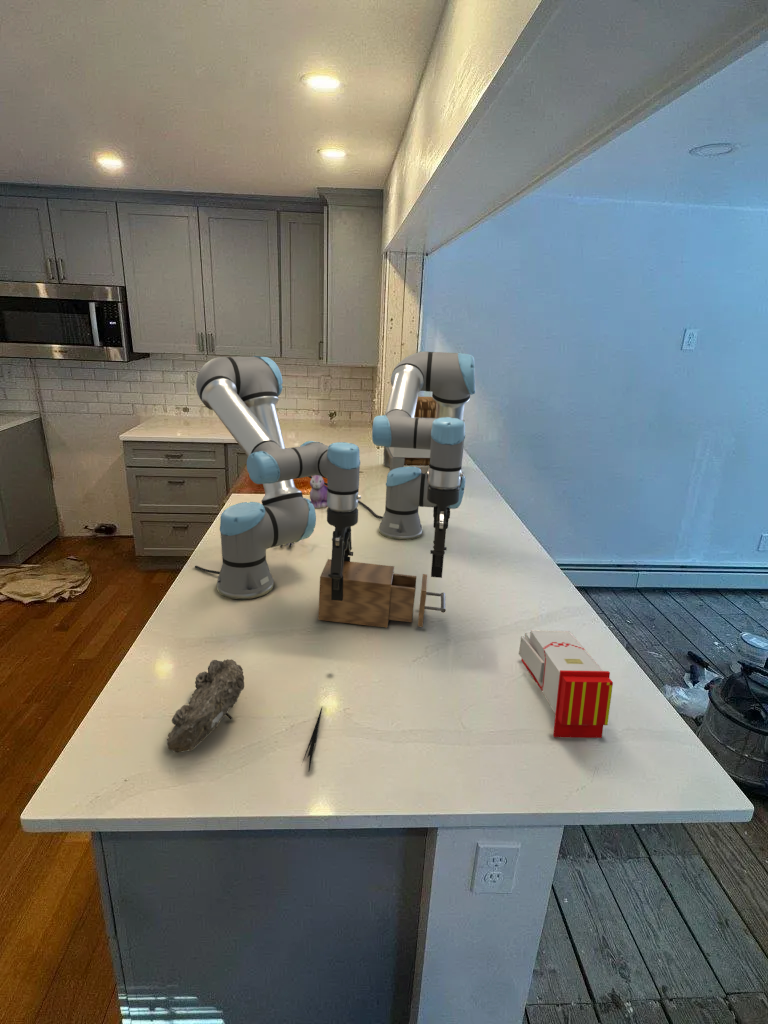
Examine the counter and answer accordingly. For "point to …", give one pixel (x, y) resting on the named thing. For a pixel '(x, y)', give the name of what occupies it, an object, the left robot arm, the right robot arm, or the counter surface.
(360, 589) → the cabinet
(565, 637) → the toy
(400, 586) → the drawer
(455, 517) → the counter surface
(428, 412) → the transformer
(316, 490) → the figurine
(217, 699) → the fossil
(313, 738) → the feather
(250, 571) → the left robot arm
